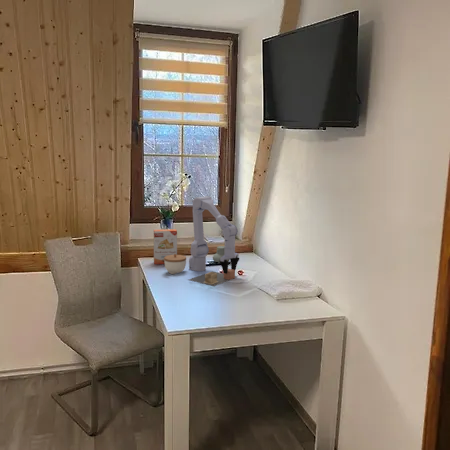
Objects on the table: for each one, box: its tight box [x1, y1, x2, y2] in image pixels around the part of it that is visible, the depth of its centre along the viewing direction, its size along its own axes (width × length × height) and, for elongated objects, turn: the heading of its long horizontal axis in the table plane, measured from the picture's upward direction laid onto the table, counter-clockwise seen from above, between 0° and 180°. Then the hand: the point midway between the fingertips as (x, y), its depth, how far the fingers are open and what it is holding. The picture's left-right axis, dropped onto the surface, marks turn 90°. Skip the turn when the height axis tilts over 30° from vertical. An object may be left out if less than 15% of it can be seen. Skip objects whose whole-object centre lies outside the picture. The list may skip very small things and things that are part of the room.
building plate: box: [188, 270, 238, 287], centre depth 264 cm, size 18×22×1 cm
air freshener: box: [212, 245, 230, 264], centre depth 300 cm, size 11×8×10 cm
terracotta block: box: [223, 268, 236, 281], centre depth 264 cm, size 4×4×4 cm
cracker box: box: [153, 228, 178, 265], centre depth 296 cm, size 14×6×21 cm, turn 102°
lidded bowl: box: [164, 254, 187, 275], centre depth 276 cm, size 13×13×11 cm
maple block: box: [204, 271, 217, 284], centre depth 257 cm, size 4×4×4 cm
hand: (229, 271), depth 264 cm, fingers open, 7 cm apart
